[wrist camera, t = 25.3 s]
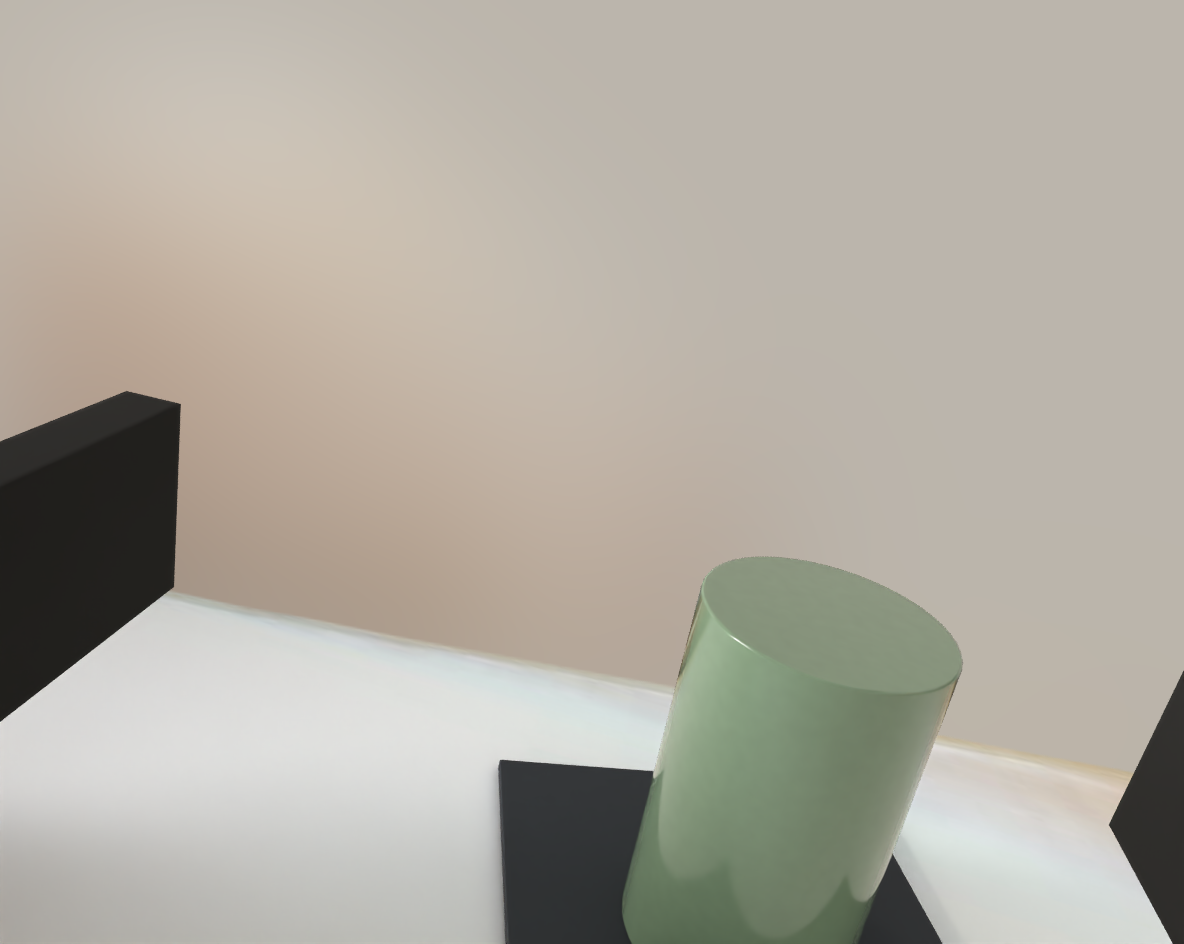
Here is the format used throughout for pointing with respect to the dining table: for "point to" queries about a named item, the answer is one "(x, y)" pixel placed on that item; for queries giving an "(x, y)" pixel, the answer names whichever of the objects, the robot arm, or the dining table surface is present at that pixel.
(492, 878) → the dining table surface
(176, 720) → the dining table surface
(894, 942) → the mat
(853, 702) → the canister
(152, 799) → the dining table surface
